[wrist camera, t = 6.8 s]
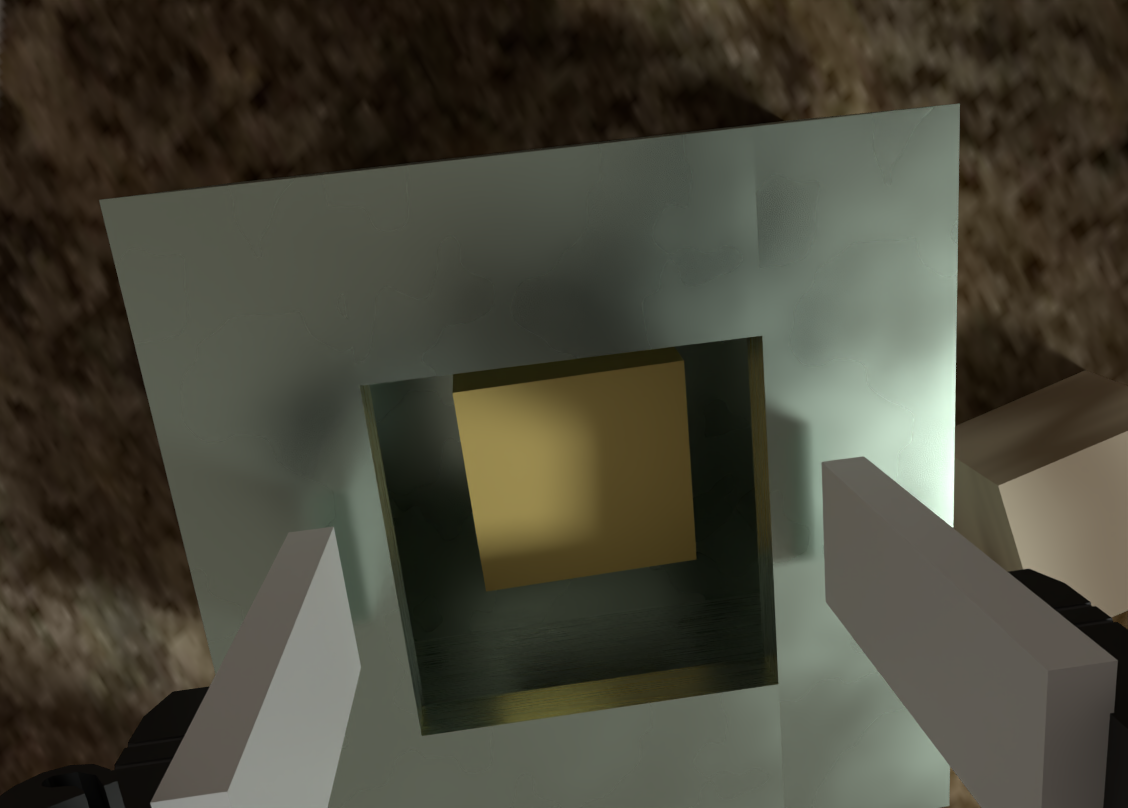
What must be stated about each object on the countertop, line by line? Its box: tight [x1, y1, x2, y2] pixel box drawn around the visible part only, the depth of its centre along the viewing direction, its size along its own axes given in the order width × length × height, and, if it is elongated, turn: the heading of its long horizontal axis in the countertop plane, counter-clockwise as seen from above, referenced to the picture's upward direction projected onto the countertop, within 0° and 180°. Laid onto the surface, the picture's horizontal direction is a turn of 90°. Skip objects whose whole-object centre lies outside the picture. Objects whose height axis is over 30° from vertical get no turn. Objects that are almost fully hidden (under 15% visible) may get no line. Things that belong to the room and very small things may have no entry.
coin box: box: [99, 104, 960, 808], centre depth 21 cm, size 14×14×9 cm
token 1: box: [452, 347, 697, 592], centre depth 22 cm, size 5×5×4 cm
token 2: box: [953, 370, 1128, 617], centre depth 25 cm, size 5×5×4 cm
